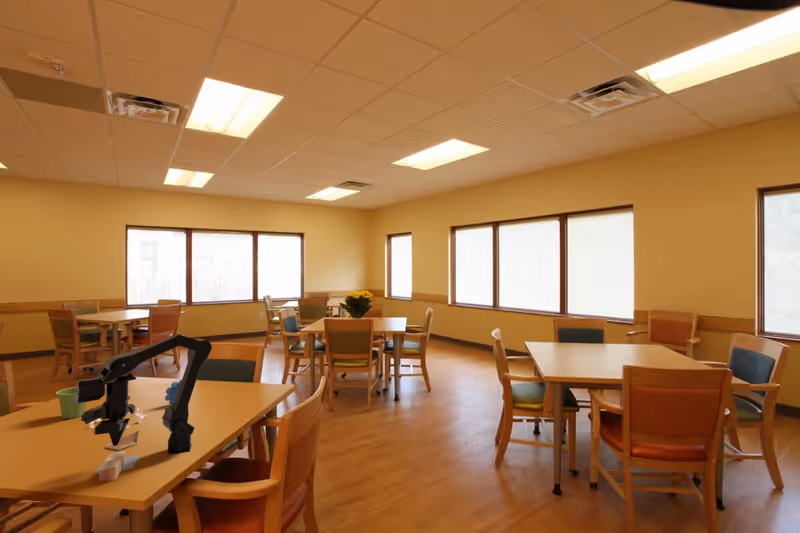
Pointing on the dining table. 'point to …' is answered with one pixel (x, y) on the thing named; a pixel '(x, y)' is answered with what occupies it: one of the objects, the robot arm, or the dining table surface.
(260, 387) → the dining table surface
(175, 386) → the grapes
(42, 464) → the dining table surface
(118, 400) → the robot arm
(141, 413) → the game piece set
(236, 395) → the dining table surface
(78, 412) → the plant pot
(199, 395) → the dining table surface
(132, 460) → the mat
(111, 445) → the shard
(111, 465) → the block
